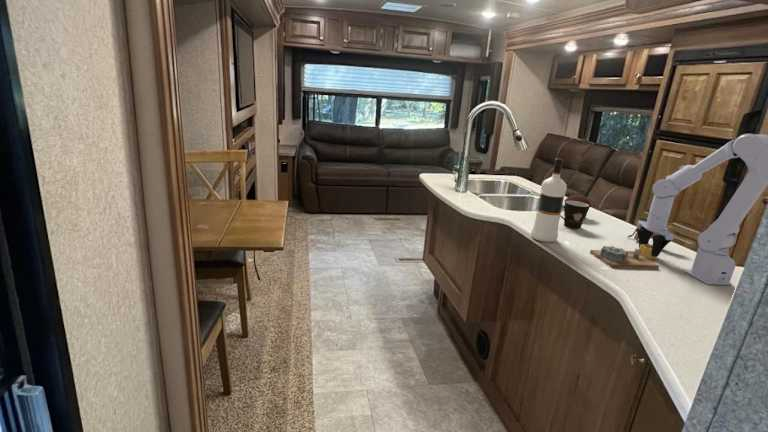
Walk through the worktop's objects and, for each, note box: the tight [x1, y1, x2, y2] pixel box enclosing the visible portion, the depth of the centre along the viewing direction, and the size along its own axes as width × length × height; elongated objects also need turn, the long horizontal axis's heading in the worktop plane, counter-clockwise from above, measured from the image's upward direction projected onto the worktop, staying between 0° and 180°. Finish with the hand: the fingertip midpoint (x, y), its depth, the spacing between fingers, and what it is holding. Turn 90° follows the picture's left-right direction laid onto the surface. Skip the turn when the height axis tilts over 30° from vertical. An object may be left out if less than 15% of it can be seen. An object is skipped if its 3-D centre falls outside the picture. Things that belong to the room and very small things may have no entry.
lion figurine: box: [627, 225, 675, 246], centre depth 151 cm, size 15×5×9 cm, turn 35°
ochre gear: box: [638, 243, 658, 260], centre depth 140 cm, size 6×6×4 cm
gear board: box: [589, 245, 660, 270], centre depth 133 cm, size 12×16×4 cm
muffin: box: [563, 193, 592, 220], centre depth 181 cm, size 12×11×10 cm
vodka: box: [530, 157, 568, 244], centre depth 146 cm, size 9×9×30 cm
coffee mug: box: [560, 201, 589, 230], centre depth 167 cm, size 12×9×10 cm
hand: (648, 252), depth 140 cm, fingers closed on ochre gear, 5 cm apart
